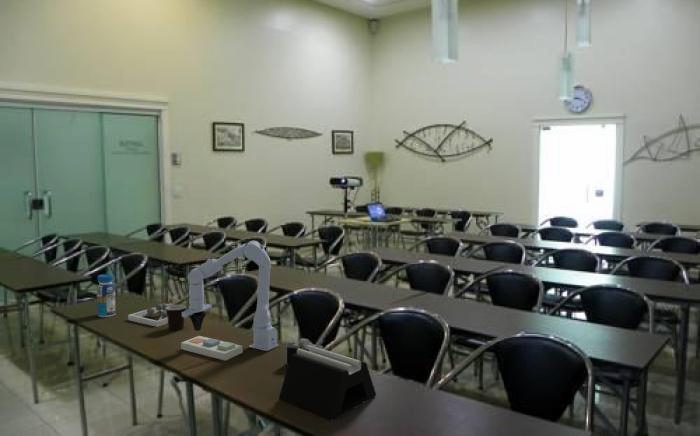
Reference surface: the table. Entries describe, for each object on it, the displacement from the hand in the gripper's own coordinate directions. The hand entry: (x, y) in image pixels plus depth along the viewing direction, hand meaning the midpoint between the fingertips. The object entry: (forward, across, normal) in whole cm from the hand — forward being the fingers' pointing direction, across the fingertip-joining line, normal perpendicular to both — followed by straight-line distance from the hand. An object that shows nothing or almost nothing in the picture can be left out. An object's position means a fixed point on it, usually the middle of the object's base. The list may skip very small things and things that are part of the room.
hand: (197, 330), depth 225 cm
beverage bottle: (+8, -10, -72) cm, 73 cm away
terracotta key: (+6, 0, 0) cm, 6 cm away
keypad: (+7, 0, +8) cm, 11 cm away
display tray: (+7, -20, -46) cm, 51 cm away
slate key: (+5, 0, +8) cm, 9 cm away
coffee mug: (+8, -14, -27) cm, 32 cm away
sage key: (+5, 0, +16) cm, 17 cm away
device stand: (+8, +12, +71) cm, 73 cm away
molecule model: (+8, -21, -48) cm, 53 cm away
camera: (+8, -8, +49) cm, 50 cm away
